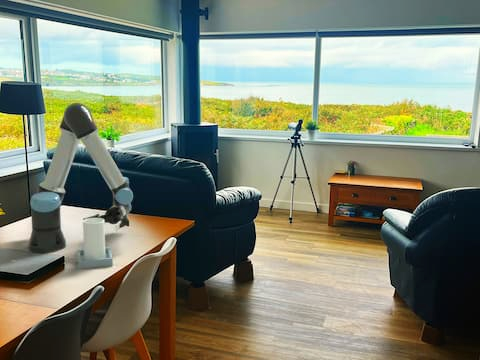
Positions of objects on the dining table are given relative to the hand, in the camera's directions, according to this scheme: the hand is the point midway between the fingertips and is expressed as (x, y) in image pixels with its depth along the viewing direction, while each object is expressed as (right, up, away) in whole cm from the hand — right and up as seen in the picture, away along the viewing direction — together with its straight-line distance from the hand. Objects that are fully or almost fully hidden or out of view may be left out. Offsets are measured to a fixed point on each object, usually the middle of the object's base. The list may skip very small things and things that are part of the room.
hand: (100, 227), depth 194 cm
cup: (0, -12, -6) cm, 14 cm away
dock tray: (0, -13, -6) cm, 14 cm away
